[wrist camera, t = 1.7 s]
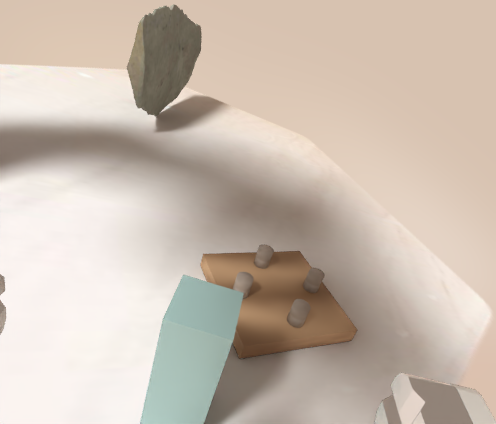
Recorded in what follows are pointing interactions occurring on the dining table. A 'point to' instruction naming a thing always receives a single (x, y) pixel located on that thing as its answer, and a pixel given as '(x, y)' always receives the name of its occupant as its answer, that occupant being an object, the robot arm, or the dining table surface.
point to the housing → (278, 301)
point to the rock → (163, 57)
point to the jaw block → (191, 352)
